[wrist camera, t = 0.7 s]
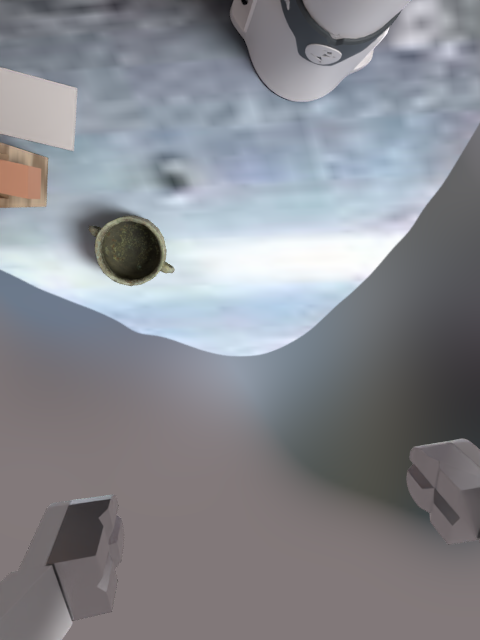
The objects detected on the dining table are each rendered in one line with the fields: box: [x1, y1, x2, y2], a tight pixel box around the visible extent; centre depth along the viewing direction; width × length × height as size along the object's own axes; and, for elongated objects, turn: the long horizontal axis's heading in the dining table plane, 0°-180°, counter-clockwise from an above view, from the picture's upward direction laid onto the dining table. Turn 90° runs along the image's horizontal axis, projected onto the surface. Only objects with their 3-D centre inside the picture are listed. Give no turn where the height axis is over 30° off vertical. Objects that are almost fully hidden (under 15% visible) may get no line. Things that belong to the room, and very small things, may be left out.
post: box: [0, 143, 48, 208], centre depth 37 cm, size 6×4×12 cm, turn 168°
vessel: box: [89, 215, 174, 286], centre depth 45 cm, size 12×9×6 cm
